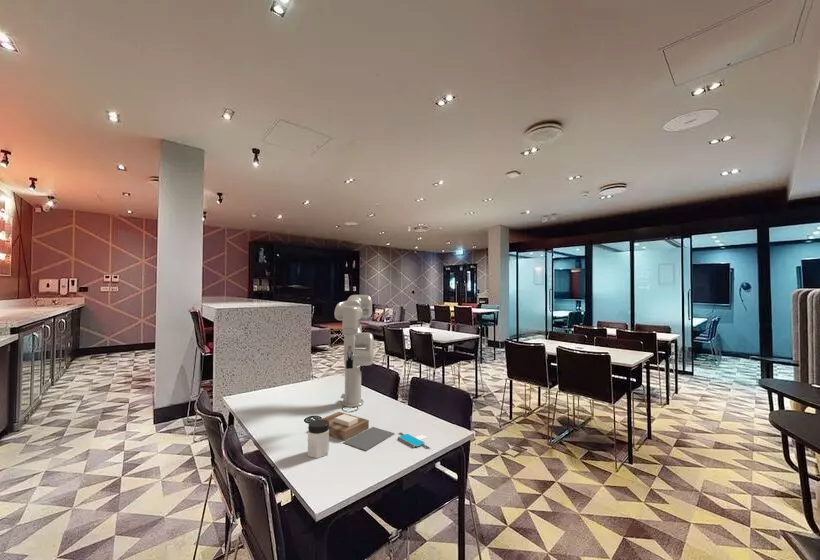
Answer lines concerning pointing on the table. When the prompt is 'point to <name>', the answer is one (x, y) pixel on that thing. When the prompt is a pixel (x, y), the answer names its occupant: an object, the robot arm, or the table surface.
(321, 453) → the jar
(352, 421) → the cream flat block
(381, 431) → the mat
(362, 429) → the platform
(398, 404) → the table surface
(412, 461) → the table surface
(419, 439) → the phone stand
